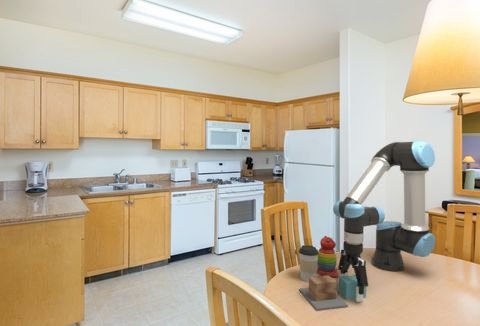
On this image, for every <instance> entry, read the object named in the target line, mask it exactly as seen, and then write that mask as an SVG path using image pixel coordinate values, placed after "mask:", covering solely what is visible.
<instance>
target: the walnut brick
mask: <svg viewBox="0 0 480 326" xmlns="http://www.w3.org/2000/svg"><path fill="white" fill-rule="evenodd" d="M308 288H309V295H310V296H311V297H312V298H313V299H314V300H315V301H323V300H332V299H336V295H337V288H338V283H337V280H335V279H334V278H331V277H330V276H329V275H328V276H322V275H320V276H319V275H318V276H317V275H316V277H309V282H308Z"/></svg>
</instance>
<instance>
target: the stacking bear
mask: <svg viewBox="0 0 480 326" xmlns="http://www.w3.org/2000/svg"><path fill="white" fill-rule="evenodd" d="M319 245H320V248H319V249H318V253H319V254H318V264H317V271H316V274H317V275H320V276H328V275H329V276H330V277H331V278H333V279H334V278H335V279H337V278H339V277H340V275H339V273H338V268H337V267H336V266H337V259H338V258H337V254H336V251H335V248H336V246H337V243H336V242H335V241H334V240H333V238H331V237H330V236H327V235H324V236H323V237H322V238H320V244H319Z"/></svg>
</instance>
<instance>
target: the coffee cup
mask: <svg viewBox="0 0 480 326" xmlns="http://www.w3.org/2000/svg"><path fill="white" fill-rule="evenodd" d="M318 251H319V249H317V247H316V246H313V245H301V246H300V248H299V250H298V255H299V257H298V260H299V270H300V279H301V280H302V281H304V282H308V283H309V277H317V268H318V265H317V264H318V254H319V253H318Z"/></svg>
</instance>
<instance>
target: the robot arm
mask: <svg viewBox="0 0 480 326" xmlns="http://www.w3.org/2000/svg"><path fill="white" fill-rule="evenodd" d="M435 160H436V154H435V151H434V149H433V147H432V145H431V144H430V143H428V142H426V141H418V140H417V141H393V142H391V143H389V144H387V145H385V146H383V147H382V148H381V149H379V150H378V151H377V152H376V153H375V154H374V155H373V157H372V158H371V160H370V162H371V163H370V164H369V166H367V168H366V170H365V171H364V172H363V173H362V174H361V177H360V178H359V179H358V180H357V182H356V183H355V184H354V186H353V187H352V189H351V190H350V191H349V193H347V195H346V197H345V198H344V200H343V201H342V200H338V201H336V202H335V203H334V205H333V208H332V209H333V210H332V212H333V213H334V215H335V216H336V217H338V218H342V219H344V220H343V245H342V246H343V247H342V248H343V249H340V257H339V262H338V267H337V271H340V277H341V276H349V274H348V273H349V272H348V270H350V267H351V268H353V271H354V275H356V279H357V283H358V285H356V299H355V301H356V303H360V302H364V298H363V294H364V287H366V288H367V287H369V281H368V275H367V267H366V266H367V261H366V260H365V259H362V257H361V254H363V252H364V244H363V243H364V227H368V226H369V227H370V226H376V228H375V250H374V253H373V256H372V258H371V265H373V266H374V267H376V268H378V269H380V270H384V271H388V272H401V271H404V269H405V263H404V260H403V256H402V254H401V253H402V252H404V253H407V254H409V255H413V256H416V257H420V258H426V257H428V256H430V255H431V253H432V252H433V251H434V249H435V246H436V245H435V244H436V236H435V235H434V234H432V233H430V227H429V226H428V225H427V224H426V173H427V174H428V172H429V169H430V168H431V167H432V166H433V165H434V163H435ZM396 166H397V167H399V171H400V172H401V173H402V174H403V206H404V207H403V214H404V216H403V217H404V220H403V221H404V222H403V223H401V222H399V221H390V220H389V221H387V220H386V221H385V218H386V216H385V212H384V210H383V209H382V208H381V207H379V206H366V205H363V204H364V202H365V201H366V200H367V198H368V197H369V195H370V194H371V192H372V191H373V189H374V188H375V187H376V185H377V184H378V182H379V181H380V180H381V178H382V177H383V176H384V174H385V172H389V171H390V170H391V168H392V167H396Z"/></svg>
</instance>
